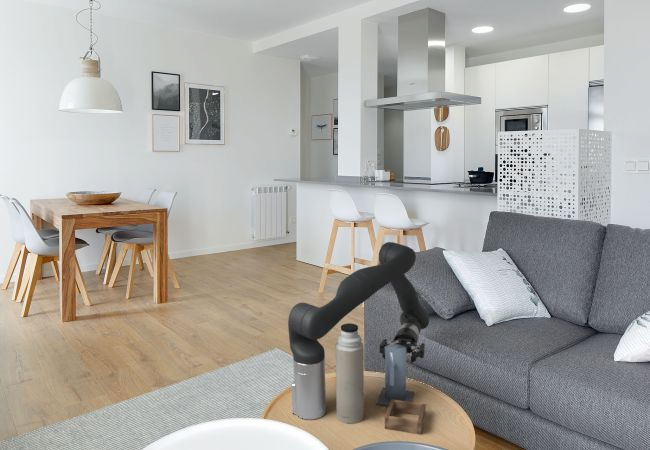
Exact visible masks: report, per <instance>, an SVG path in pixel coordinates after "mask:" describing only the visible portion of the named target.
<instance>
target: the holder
mask: <svg viewBox="0 0 650 450" xmlns="http://www.w3.org/2000/svg"><path fill="white" fill-rule="evenodd" d="M426 405H427V404H426V403H422V402H421V403H420V402H414V401H412V402H408V401H401V400H394V399H391V402H390V405H389V407H387V410H386V413H385V416H384V429H386V430H390V431H397V432H403V433H410V434H415V435H421V434H422V430H423V427H424V423H425V420H426V419H425V418H426V409H427V408H426ZM394 413H396V414H397V413H398V414H404V415H411V416H415V417H416V416H418V417H417V419H410V418H407V417H406V418H404V417H399V416H394Z"/></svg>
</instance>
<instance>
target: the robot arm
mask: <svg viewBox="0 0 650 450" xmlns="http://www.w3.org/2000/svg"><path fill="white" fill-rule="evenodd" d="M416 258H417V255H416V252H415V250H414V249H413V248H411V247H409V246H408V245H404V244H400V243H396V242H393V241H387V242H384V243H383V244H382V245H381V246H380V249H379V251H378V261H379V264H378V265H372V266H367V267H363V268H360V269H357V270H355V271H354V272H352V273H350V274H349V275H348V276H346V277H345V278H344V279H343V280H341V281H340V283H339V286H338V287H337V291H336V294H335V297H333V299H332V300H330V301H329V302H327V303H326V304H324V305H322V306H316V305H312V304H310V303H308V302H298V303H296V304H295V305H294V306H293V307H292V308H291V310H290V312H289V315H288V320H287V324H288V325H287V326H288V327H287V328H288V339H289V347H290V351H291V352H292V359H293V364H292V365H293V382H292V384H291V400H292V401H291V402H292V403H291V407H292V410H291V411H292V414H293V413H294V414H293V415H295V414H296V415H295V416H297V417H298V416H299V417H298V418H300V419H302V418H303V420H316V419H320V418H321V417H323V416H324V415H326V413H327V411H326V410H327V404H326V403H327V400H326V399H327V398H326V397H327V396H326V358H325V356H326V354H325V348H324V346H323V345H322V344H321V343H320V341H318V340H320V339H322V338H324V337H325V336H326V335H327V334H328V333H329V332H330V331H332V329H333V328H334V327H335V326H336V325H338V323H339V322H341V321H342V319H344V318H345V317H346V316H347V315H349V314H350V313H351V312H352V311H354V309H356V308H357V307H358V306H360V305H361V304H363V303H364V302H366V301H367V300H369V299H370V298H371V297H372V296H373V295H374V294H376V293H377V292H378V291H380V290H381V289H383V288H385V286H386V285H388V284H391V286H392V287H393V290H394V292H395V295H396V297H397V300H398V301H397V302H398V304H399V306H400V309H401V311H402V312H401V313H400V315H399V321H400V327H399V328H398V329H397V332H396V334H395V335H394V338H393V340H391V341H388V339H386V338H384V339H383V340H382V341H381V342H380V344H379V354H382V358H383V360H385V347H386V346H388V345H392V344H398V345H402V346H404V347H406V355H408V356H410V363H411V364H412V363H414V362H417V359H418V358H420V359H423V358H424V357H425V352H426V351H425V350H426V349H425V348H426V347H425V345H426V344H425V343H423V342H422V343H420V344H418V342H419V341H420V339H419V338H420V334H421V330H425V329H426V328H427V327H429V323H430V317H429V314H428V312H427V310H426V309H425V308H424V306H423V305H422V304H421V303H420V300H419V296H418V293H417V291H416V289H415V286H414V285H413V283H412V282H411V281H410V280H409V278H407V276H406V275H405V274H407V273H408V272H409V271H410V270H411V269H412V268H413V266H414V265H415V263H416Z"/></svg>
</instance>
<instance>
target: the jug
mask: <svg viewBox="0 0 650 450" xmlns="http://www.w3.org/2000/svg"><path fill="white" fill-rule="evenodd" d="M384 360H385V361H384V387H385V398H386V399H387V400H388V401H391V399H394V400H401V401H404V400H405V399H406V390H407V353H406V347H404V346H402V345H398V344H392V345H388V346H386V347H385V359H384Z"/></svg>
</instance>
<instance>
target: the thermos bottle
mask: <svg viewBox="0 0 650 450" xmlns="http://www.w3.org/2000/svg"><path fill="white" fill-rule="evenodd" d="M358 331H359V325H357V324H356V323H350V322H349V323H344V324H342V325H341V326H340V334H339V335H338V336H337V342H336V343H335V392H336V393H335V394H336V395H335V396H336V399H335V400H336V401H335V402H336V403H335V404H336V405H335V406H336V418H337V419H338V421H340V422H341V423H345V424H356V423H359V422H361V421H363V419H364V417H365V404H364V403H365V401H364V400H365V399H364V397H365V393H364V385H365V384H364V383H365V381H364V377H365V376H364V373H365V372H364V366H365V365H364V343H363V342H362V338H361V335H360V334H359V332H358Z"/></svg>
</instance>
